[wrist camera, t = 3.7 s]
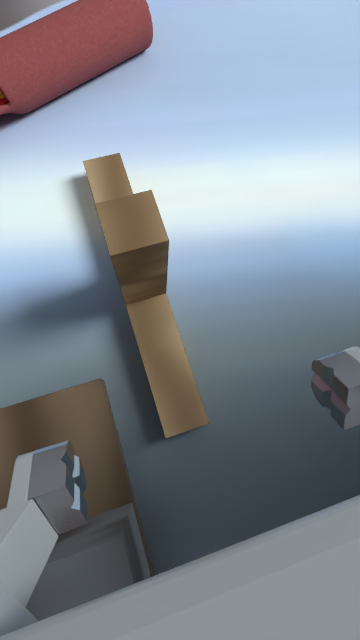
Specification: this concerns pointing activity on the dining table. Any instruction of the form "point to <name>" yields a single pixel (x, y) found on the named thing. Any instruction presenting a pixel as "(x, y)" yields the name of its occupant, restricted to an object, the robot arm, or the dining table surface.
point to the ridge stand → (101, 495)
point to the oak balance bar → (146, 290)
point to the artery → (69, 50)
